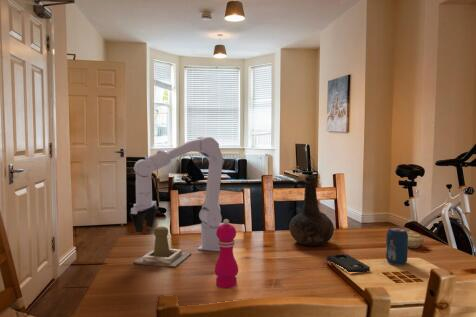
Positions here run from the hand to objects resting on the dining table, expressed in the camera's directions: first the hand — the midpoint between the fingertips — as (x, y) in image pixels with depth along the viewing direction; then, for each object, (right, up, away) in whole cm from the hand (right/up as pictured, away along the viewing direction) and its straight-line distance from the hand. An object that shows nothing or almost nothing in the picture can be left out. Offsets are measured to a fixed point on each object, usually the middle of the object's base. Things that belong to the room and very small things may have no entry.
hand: (144, 229), depth 137 cm
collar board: (+7, -11, -1) cm, 13 cm away
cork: (+6, -10, -1) cm, 12 cm away
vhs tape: (+72, -12, -8) cm, 74 cm away
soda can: (+90, -11, -5) cm, 91 cm away
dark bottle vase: (+64, -9, +18) cm, 68 cm away
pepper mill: (+31, -12, -24) cm, 41 cm away
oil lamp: (+104, -9, +15) cm, 106 cm away
